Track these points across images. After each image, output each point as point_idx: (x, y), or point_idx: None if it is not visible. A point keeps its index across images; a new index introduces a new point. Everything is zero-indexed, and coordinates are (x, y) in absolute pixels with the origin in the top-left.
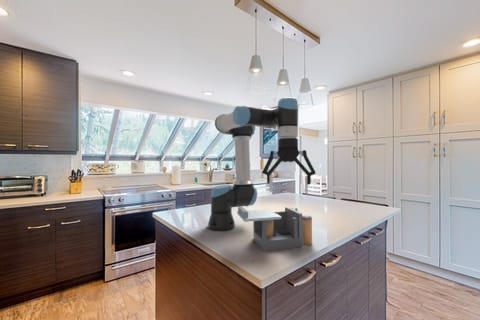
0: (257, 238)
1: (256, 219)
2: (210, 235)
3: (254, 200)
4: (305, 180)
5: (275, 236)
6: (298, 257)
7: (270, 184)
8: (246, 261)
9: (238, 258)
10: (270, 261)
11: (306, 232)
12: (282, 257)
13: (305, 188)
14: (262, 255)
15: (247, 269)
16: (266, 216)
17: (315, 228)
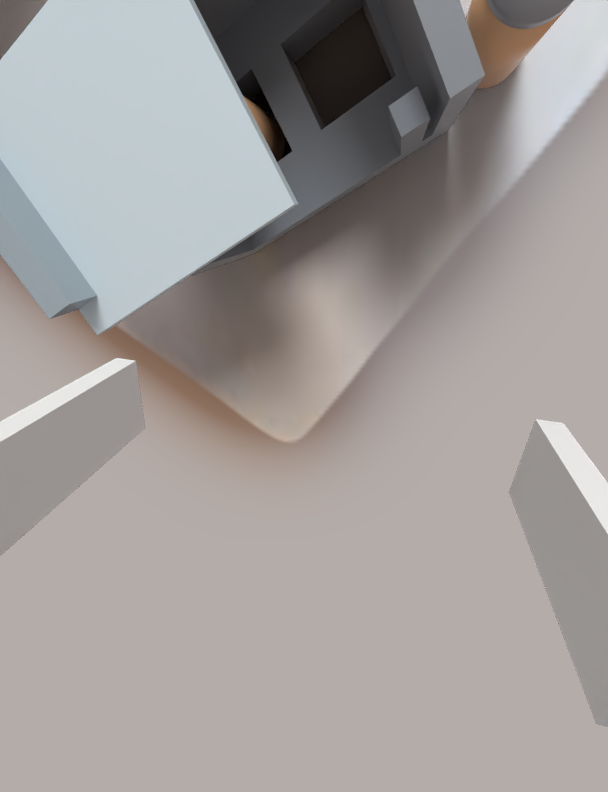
0: None
1: (151, 300)
2: None
3: None
4: (571, 641)
5: (285, 157)
6: (411, 284)
7: (79, 473)
8: (219, 361)
9: (186, 345)
10: (300, 345)
11: (497, 64)
12: (342, 300)
13: (529, 537)
14: (260, 300)
15: (240, 410)
16: (190, 231)
17: None
